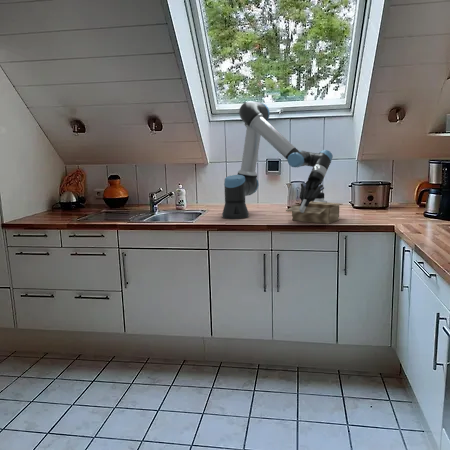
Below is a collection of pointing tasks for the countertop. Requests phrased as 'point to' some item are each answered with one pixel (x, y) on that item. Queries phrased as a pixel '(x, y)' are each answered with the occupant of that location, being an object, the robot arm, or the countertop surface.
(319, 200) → the medicine bottle
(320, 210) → the flap
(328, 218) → the carton
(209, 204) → the countertop surface
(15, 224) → the countertop surface
